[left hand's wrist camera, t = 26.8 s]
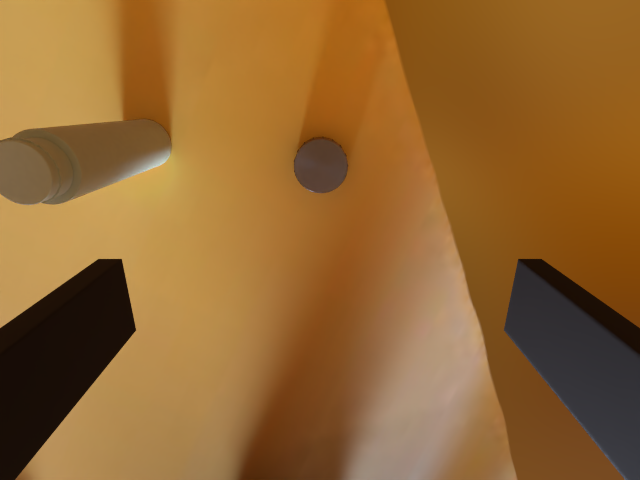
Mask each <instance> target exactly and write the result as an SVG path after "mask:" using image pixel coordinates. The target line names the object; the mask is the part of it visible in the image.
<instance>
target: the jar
mask: <svg viewBox="0 0 640 480" xmlns="http://www.w3.org/2000/svg"><path fill="white" fill-rule="evenodd" d="M170 153H171V141H170V138H169V135H168V134H167V132H166V131H165V129H164V128H163V127H162V126H161V125H160V124H158V123H156V122H154V121H152V120H148V119H138V120H127V121H115V122H104V123H93V124H82V125H71V126H60V127H48V128H37V129H28V130H23V131H21V132H19V133H17V134H16V135H14V136H13V137H12V138H7V139H4V140H0V194H1V195H3V196H4V197H5V198H7V199H9V200H11V201H13V202H15V203H18V204H23V205H34V204H38V203H45V204H61V203H64V202H67V201H69V200H72V199H75V198H77V197H80V196H82V195H85V194H87V193H90V192H93V191H95V190H98V189H100V188H103V187H105V186H108V185H111V184H113V183H116V182H118V181H121V180H123V179H126V178H129V177H131V176H134V175H136V174H139V173H141V172H144V171H147V170H149V169H152V168H154V167H157V166H160V165H161V164H163V163H164V162H165V161H166V160H167V159H168V158H169V156H170Z"/></svg>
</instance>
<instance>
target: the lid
mask: <svg viewBox="0 0 640 480" xmlns="http://www.w3.org/2000/svg"><path fill="white" fill-rule="evenodd" d="M347 169H348V164H347V158H346V154H345V153H344V151H343V150H342V147H341V146H340V145H338V144H337V143H336V142H335V141H333V139H332V140H331V139H328V138H324V137H318V138H313V139H311V140H309V141H307V142H306V143H305V142H304V144H303V145H302V146H301V148H300V149H298V151H297V155H296V158H295V160H294V172H295V175H296V177H297V179H298V181H299V182H300V184H301V185H302V186H303V187H305V188H306V189H307V190H309V191H312V192H315V193H326V192H330V191H332V190H334V189H336V188H337V187H338V186H339V185H340V184H341V183H342V182H343V181H344V179H345V177H346V174H347Z"/></svg>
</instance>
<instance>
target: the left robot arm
mask: <svg viewBox="0 0 640 480" xmlns="http://www.w3.org/2000/svg"><path fill="white" fill-rule="evenodd" d="M135 331H136V328H135V323H134V318H133V313H132V308H131V303H130V298H129V293H128V288H127V283H126V278H125V273H124V268H123V263H122V259H98V260H97V261H95V262H94V263H92V264H91V265H89V266H88V267H87V268H85V269H84V270H82V271H81V272H79V273H78V274H77V275H75V276H74V277H72V278H71V279H70V280H68V281H67V282H65V283H64V284H62V285H61V286H60V287H58V288H57V289H55V290H54V291H52V292H51V293H50V294H48V295H47V296H45V297H44V298H43V299H41V300H40V301H38V302H37V303H35V304H34V305H33V306H31V307H30V308H28V309H27V310H26V311H24V312H23V313H21V314H20V315H18V316H17V317H16V318H14V319H13V320H11V321H10V322H8V323H7V324H6V325H4V326H3V327H1V328H0V480H15V479H16V478H17V476H18V475H19V474H20V473H21V472H22V470H23V469H24V468H25V467H26V465H27V464H28V463H29V462H30V460H31V459H32V458H33V457H34V455H35V454H36V453H37V452H38V451H39V449H40V448H41V447H42V446H43V444H44V443H45V442H46V441H47V439H48V438H49V437H50V436H51V434H52V433H53V432H54V431H55V430H56V428H57V427H58V426H59V425H60V423H61V422H62V421H63V420H64V418H65V417H66V416H67V415H68V414H69V412H70V411H71V410H72V409H73V407H74V406H75V405H76V404H77V402H78V401H79V400H80V399H81V397H82V396H83V395H84V394H85V393H86V391H87V390H88V389H89V388H90V386H91V385H92V384H93V383H94V381H95V380H96V379H97V378H98V377H99V375H100V374H101V373H102V372H103V370H104V369H105V368H106V367H107V365H108V364H109V363H110V362H111V360H112V359H113V358H114V357H115V356H116V354H117V353H118V352H119V351H120V349H121V348H122V347H123V346H124V344H125V343H126V342H127V341H128V339H129V338H130V337H131V336H132V335H133V333H134V332H135ZM504 331H505V332H506V333H507V334H508V336H509V337H510V338H511V339H512V341H513V342H514V343H515V344H516V346H517V347H518V348H519V349H520V351H521V352H522V353H523V354H524V356H525V357H526V358H527V359H528V360H529V362H530V363H531V364H532V365H533V367H534V368H535V369H536V370H537V372H538V373H539V374H540V375H541V376H542V378H543V379H544V380H545V381H546V383H547V384H548V385H549V386H550V388H551V389H552V390H553V391H554V393H555V394H556V395H557V396H558V397H559V399H560V400H561V401H562V402H563V404H564V405H565V406H566V407H567V409H568V410H569V411H570V412H571V414H572V415H573V416H574V417H575V418H576V420H577V421H578V422H579V423H580V425H581V426H582V427H583V428H584V430H585V431H586V432H587V433H588V434H589V436H590V437H591V438H592V439H593V441H594V442H595V443H596V444H597V446H598V447H599V448H600V449H601V450H602V452H603V453H604V454H605V455H606V457H607V458H608V459H609V460H610V462H611V463H612V464H613V465H614V466H615V468H616V469H617V470H618V471H619V473H620V474H621V475H622V476H623V478H624V479H625V480H640V328H639V327H637V326H636V325H634V324H633V323H631V322H630V321H629V320H627V319H626V318H624V317H623V316H622V315H620V314H619V313H617V312H616V311H614V310H613V309H612V308H610V307H609V306H607V305H606V304H605V303H603V302H602V301H600V300H599V299H597V298H596V297H595V296H593V295H592V294H590V293H589V292H587V291H586V290H585V289H583V288H582V287H580V286H579V285H578V284H576V283H575V282H573V281H572V280H570V279H569V278H568V277H566V276H565V275H563V274H562V273H561V272H559V271H558V270H556V269H555V268H553V267H552V266H551V265H549V264H548V263H546V262H545V261H543V260H542V259H518V263H517V268H516V273H515V278H514V283H513V288H512V293H511V298H510V303H509V308H508V313H507V318H506V323H505V328H504Z"/></svg>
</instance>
